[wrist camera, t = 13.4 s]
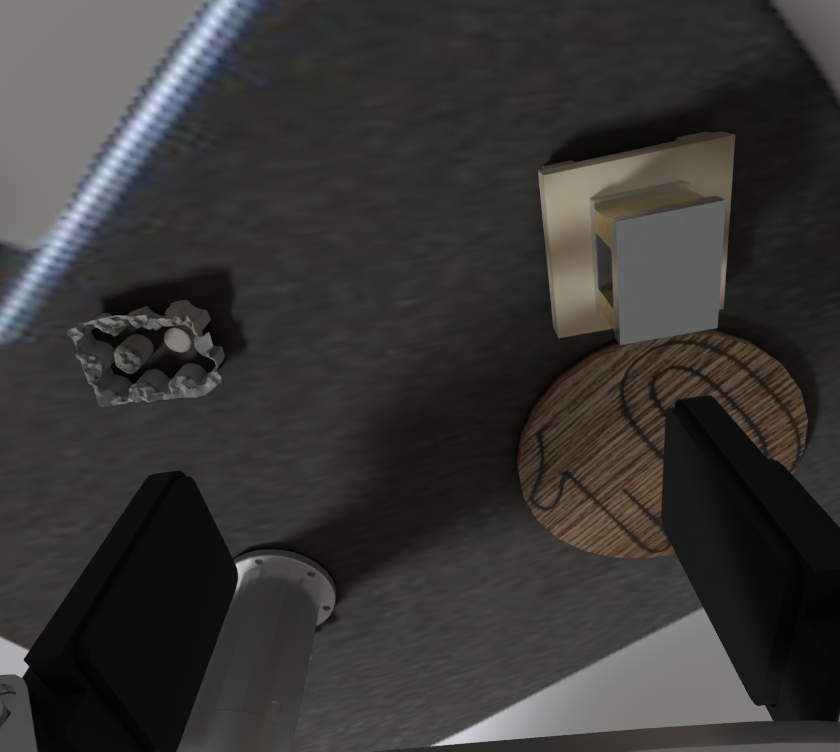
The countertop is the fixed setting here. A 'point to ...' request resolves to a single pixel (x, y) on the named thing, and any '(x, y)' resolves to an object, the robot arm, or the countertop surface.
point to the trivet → (643, 433)
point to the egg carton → (146, 355)
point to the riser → (580, 181)
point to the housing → (657, 260)
